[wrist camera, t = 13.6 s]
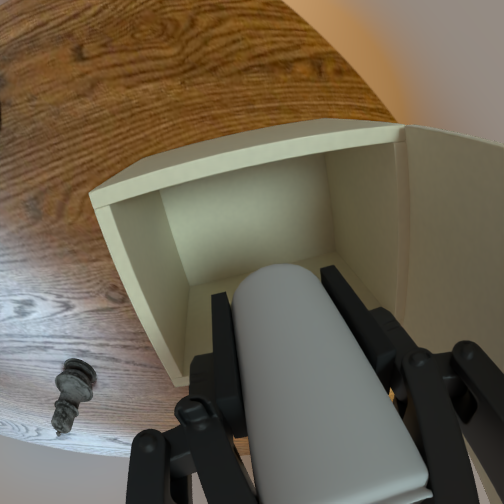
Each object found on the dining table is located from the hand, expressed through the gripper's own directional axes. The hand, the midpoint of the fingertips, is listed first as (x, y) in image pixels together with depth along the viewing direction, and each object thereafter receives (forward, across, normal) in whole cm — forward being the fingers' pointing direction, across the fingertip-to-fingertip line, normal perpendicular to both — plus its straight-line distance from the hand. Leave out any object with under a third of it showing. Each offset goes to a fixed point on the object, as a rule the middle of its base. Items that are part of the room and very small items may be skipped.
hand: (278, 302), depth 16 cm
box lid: (-7, +8, 0) cm, 11 cm away
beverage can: (+1, 0, 0) cm, 1 cm away
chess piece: (+17, -28, -17) cm, 37 cm away
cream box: (+17, +1, 0) cm, 17 cm away
